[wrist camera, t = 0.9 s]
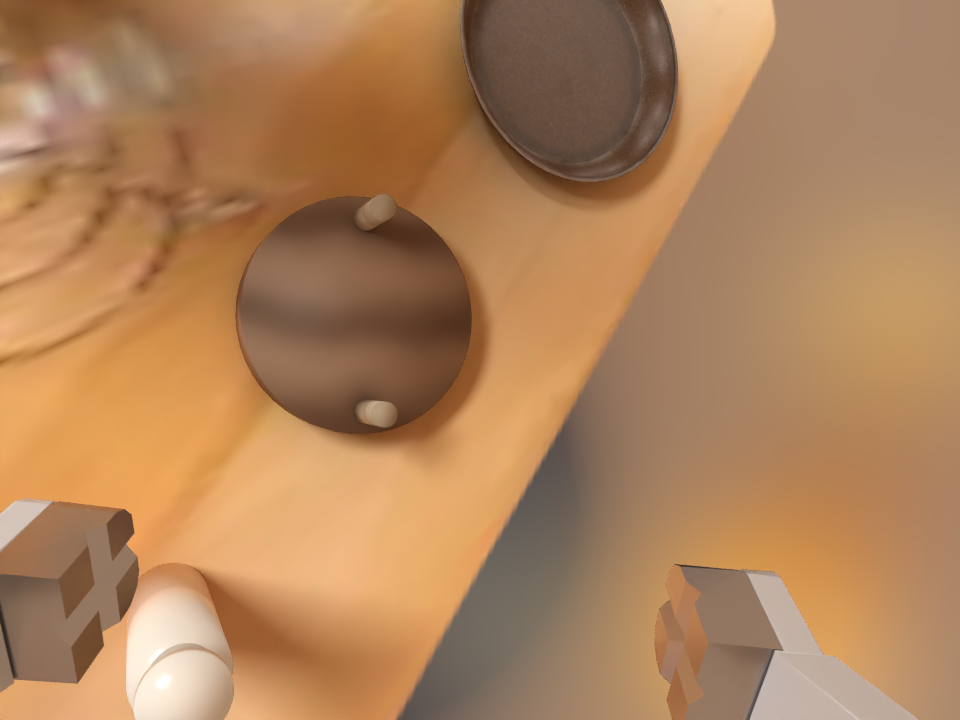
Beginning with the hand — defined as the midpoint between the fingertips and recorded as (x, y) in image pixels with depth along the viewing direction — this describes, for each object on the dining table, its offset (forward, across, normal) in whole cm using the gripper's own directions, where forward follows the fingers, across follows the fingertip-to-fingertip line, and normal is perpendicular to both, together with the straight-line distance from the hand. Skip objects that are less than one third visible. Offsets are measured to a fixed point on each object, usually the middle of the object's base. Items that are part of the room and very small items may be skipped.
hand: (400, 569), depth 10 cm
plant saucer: (+54, -5, -7) cm, 55 cm away
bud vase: (+25, +16, +26) cm, 39 cm away
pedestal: (+37, +8, +10) cm, 39 cm away
